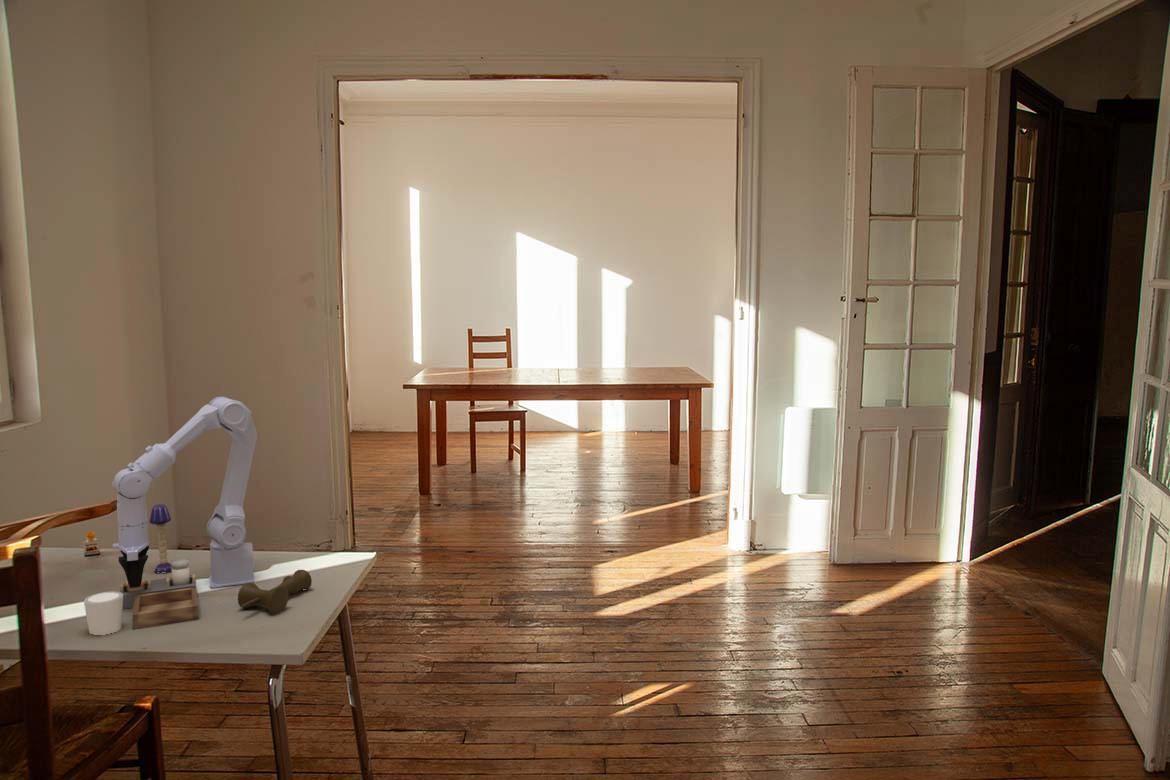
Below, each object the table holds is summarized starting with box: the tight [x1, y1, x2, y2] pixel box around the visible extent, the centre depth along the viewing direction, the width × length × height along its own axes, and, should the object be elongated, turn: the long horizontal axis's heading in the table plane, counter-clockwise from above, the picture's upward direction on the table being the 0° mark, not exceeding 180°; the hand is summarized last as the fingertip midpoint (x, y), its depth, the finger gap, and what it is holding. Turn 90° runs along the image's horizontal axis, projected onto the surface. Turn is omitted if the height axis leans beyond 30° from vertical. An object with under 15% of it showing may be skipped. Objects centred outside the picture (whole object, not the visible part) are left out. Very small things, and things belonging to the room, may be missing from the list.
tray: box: [132, 586, 199, 630], centre depth 172 cm, size 12×12×3 cm
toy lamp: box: [149, 504, 172, 573], centre depth 197 cm, size 5×5×17 cm
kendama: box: [237, 569, 313, 615], centre depth 178 cm, size 6×10×20 cm
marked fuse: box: [125, 568, 146, 592], centre depth 178 cm, size 4×4×8 cm
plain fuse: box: [170, 557, 191, 586], centre depth 182 cm, size 4×4×8 cm
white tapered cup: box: [83, 590, 123, 636], centre depth 163 cm, size 7×7×7 cm
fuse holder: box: [119, 573, 197, 610], centre depth 181 cm, size 15×8×4 cm, turn 117°
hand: (135, 582), depth 178 cm, fingers open, 5 cm apart
